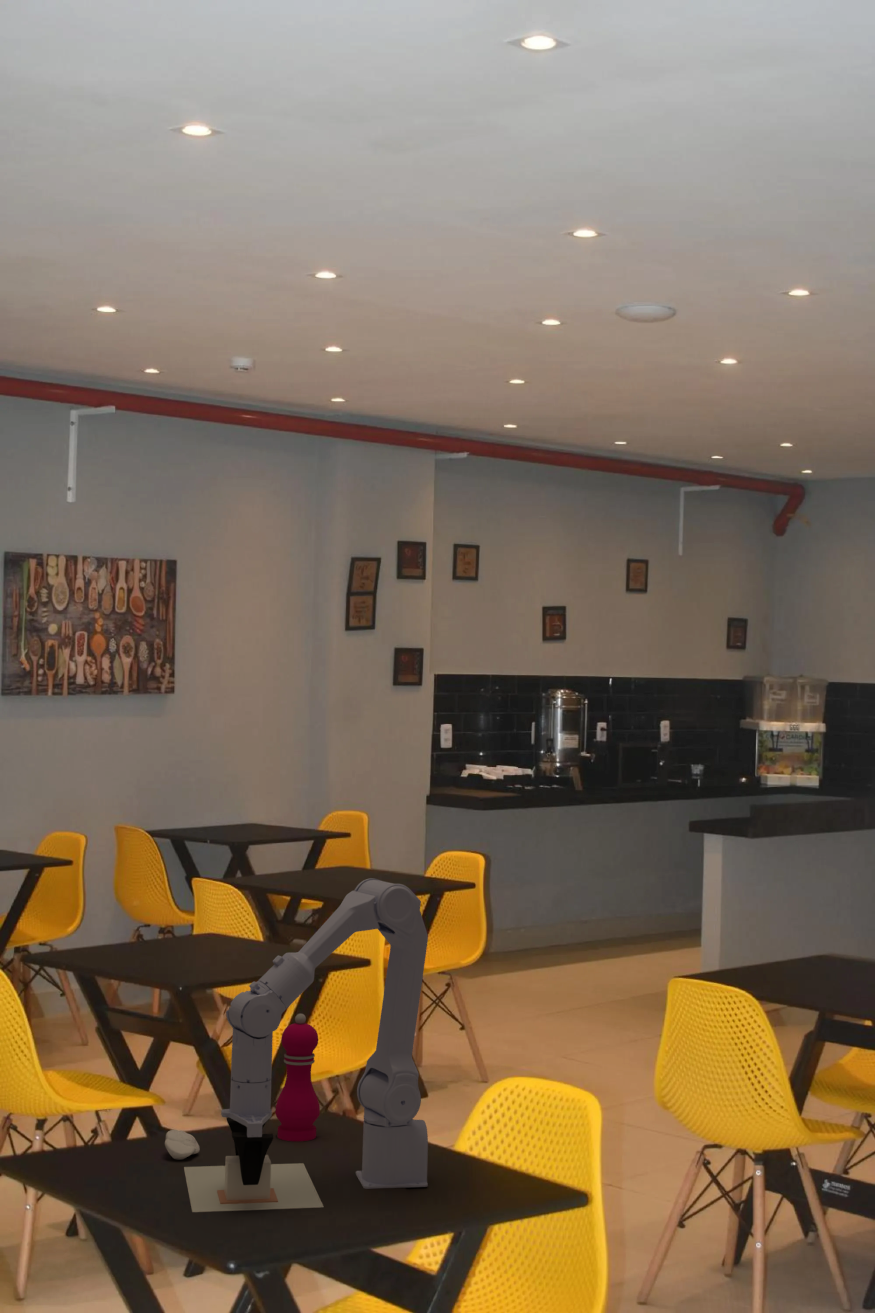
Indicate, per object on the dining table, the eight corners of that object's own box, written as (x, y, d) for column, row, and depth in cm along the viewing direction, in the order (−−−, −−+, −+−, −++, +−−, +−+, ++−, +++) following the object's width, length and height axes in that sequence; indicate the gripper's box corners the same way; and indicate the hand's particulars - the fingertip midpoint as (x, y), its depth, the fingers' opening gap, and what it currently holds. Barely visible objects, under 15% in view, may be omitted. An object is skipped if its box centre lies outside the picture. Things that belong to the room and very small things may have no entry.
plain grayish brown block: (224, 1192, 218) (225, 1156, 219) (266, 1190, 220) (267, 1155, 220) (226, 1200, 215) (228, 1164, 215) (269, 1198, 216) (271, 1162, 216)
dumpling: (169, 1152, 241) (170, 1126, 241) (202, 1153, 240) (203, 1127, 241) (159, 1165, 234) (160, 1138, 234) (194, 1166, 233) (195, 1139, 234)
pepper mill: (274, 1132, 254) (278, 1009, 255) (318, 1132, 255) (322, 1010, 256) (274, 1144, 247) (278, 1017, 248) (319, 1144, 248) (323, 1018, 249)
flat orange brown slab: (273, 1189, 221) (273, 1188, 221) (278, 1202, 215) (278, 1200, 215) (217, 1191, 219) (217, 1190, 219) (220, 1204, 213) (220, 1203, 213)
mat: (303, 1165, 235) (303, 1163, 235) (323, 1209, 213) (323, 1207, 213) (183, 1169, 231) (183, 1167, 231) (192, 1214, 210) (192, 1212, 210)
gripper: (218, 1068, 224) (215, 1163, 224) (226, 1091, 210) (223, 1192, 209) (267, 1067, 226) (264, 1161, 225) (278, 1090, 212) (275, 1190, 211)
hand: (247, 1176), depth 217 cm, fingers open, 7 cm apart
